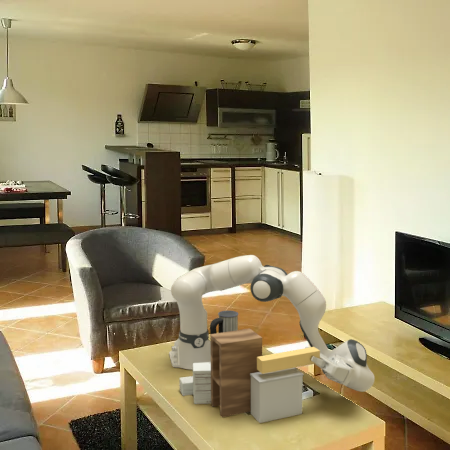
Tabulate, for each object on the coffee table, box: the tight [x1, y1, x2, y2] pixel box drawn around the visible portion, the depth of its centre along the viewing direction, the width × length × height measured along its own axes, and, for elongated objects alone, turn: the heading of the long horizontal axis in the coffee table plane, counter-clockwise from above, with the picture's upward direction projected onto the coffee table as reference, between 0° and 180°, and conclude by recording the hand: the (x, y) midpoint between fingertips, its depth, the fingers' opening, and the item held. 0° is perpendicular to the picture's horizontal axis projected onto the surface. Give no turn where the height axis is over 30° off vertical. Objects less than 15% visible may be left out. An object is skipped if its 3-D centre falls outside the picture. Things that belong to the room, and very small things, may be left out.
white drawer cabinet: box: [192, 362, 211, 405], centre depth 212 cm, size 7×7×13 cm
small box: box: [179, 375, 194, 397], centre depth 219 cm, size 6×6×5 cm
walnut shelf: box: [209, 328, 263, 418], centre depth 205 cm, size 10×15×26 cm, turn 113°
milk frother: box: [209, 310, 239, 334], centre depth 260 cm, size 14×16×15 cm
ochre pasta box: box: [257, 346, 320, 374], centre depth 200 cm, size 4×22×4 cm, turn 113°
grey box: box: [250, 367, 304, 424], centre depth 201 cm, size 7×16×14 cm, turn 113°
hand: (307, 355), depth 203 cm, fingers closed on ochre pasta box, 4 cm apart
